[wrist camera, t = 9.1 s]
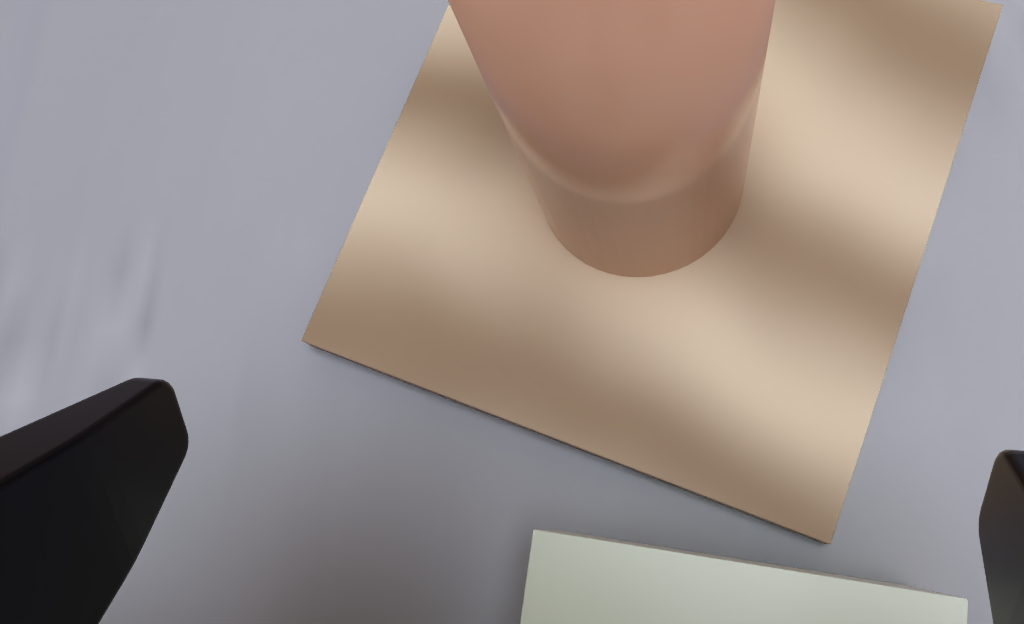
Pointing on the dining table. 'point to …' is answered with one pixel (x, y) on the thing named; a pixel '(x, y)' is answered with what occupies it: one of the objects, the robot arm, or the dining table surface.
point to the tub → (706, 589)
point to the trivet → (689, 290)
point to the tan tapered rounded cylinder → (627, 117)
